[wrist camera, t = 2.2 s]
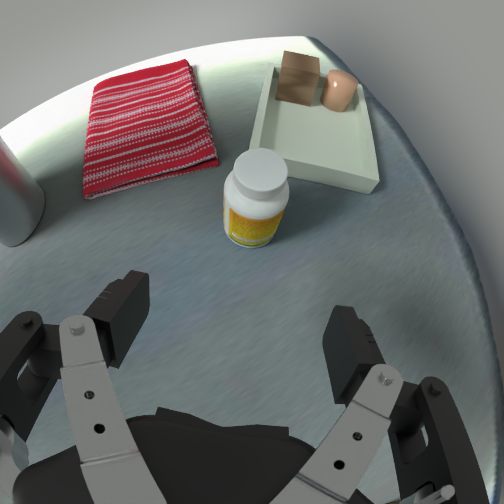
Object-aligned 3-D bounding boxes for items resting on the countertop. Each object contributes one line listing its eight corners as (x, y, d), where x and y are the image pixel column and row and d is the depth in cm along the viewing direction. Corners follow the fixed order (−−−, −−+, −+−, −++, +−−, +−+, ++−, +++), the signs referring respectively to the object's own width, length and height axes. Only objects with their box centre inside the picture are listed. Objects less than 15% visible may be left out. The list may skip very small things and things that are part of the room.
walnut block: (275, 99, 35) (281, 66, 30) (278, 81, 37) (284, 50, 32) (309, 106, 36) (320, 74, 30) (310, 88, 37) (319, 58, 32)
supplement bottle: (215, 213, 29) (212, 152, 20) (261, 195, 30) (274, 134, 21) (237, 258, 27) (243, 209, 19) (285, 237, 29) (310, 184, 20)
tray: (246, 169, 31) (248, 152, 29) (265, 77, 39) (268, 62, 36) (368, 194, 32) (379, 181, 29) (355, 97, 39) (361, 84, 36)
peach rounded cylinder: (320, 107, 36) (329, 81, 31) (319, 91, 37) (327, 66, 33) (348, 115, 36) (360, 90, 31) (346, 98, 37) (356, 74, 33)
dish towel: (191, 68, 39) (191, 56, 37) (222, 169, 32) (222, 154, 29) (95, 93, 36) (91, 81, 34) (85, 205, 29) (76, 193, 26)
